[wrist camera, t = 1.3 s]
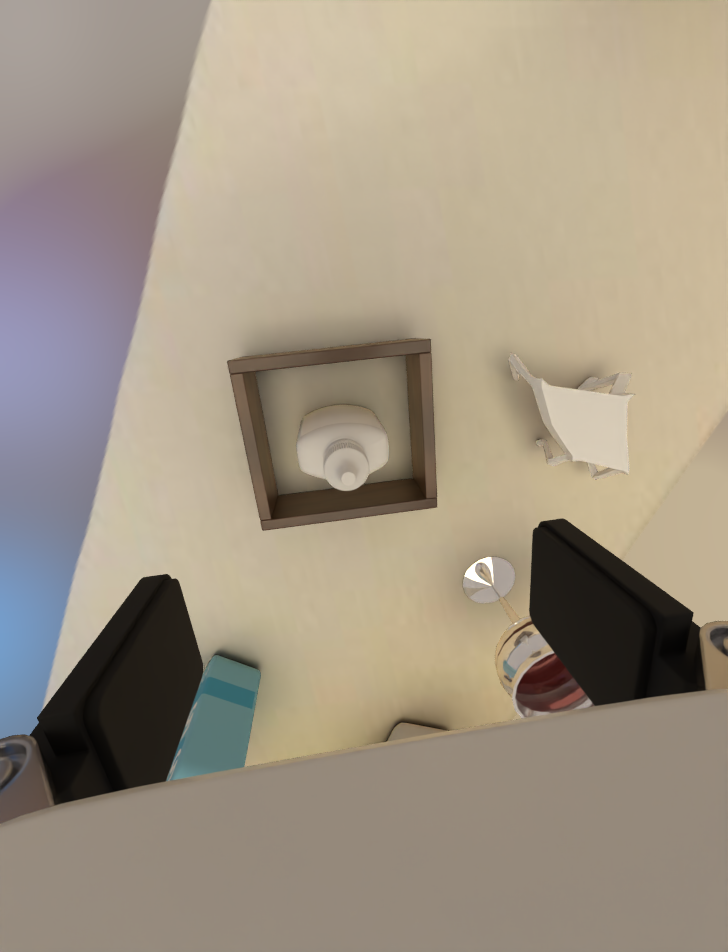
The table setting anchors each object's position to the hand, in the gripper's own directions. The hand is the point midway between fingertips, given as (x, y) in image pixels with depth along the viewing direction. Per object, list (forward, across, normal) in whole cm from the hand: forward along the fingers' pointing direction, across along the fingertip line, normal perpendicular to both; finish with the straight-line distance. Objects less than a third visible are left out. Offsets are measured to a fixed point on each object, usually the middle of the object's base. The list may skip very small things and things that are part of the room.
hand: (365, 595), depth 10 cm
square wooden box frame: (+22, 0, 0) cm, 22 cm away
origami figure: (+22, -17, 0) cm, 28 cm away
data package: (+22, +15, +25) cm, 36 cm away
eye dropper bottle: (+22, 0, 0) cm, 22 cm away
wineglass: (+22, -12, +16) cm, 30 cm away
